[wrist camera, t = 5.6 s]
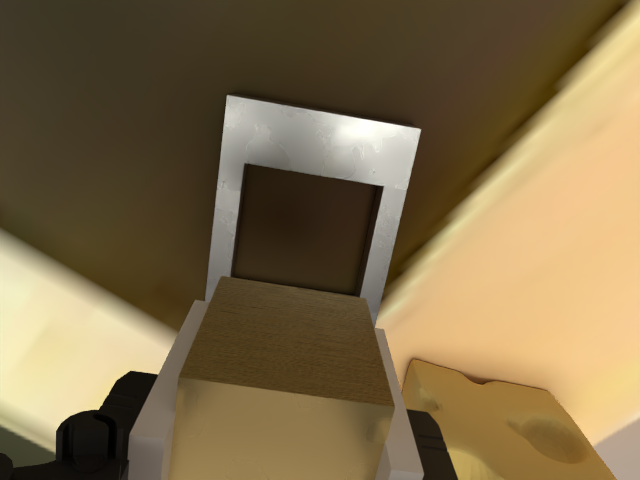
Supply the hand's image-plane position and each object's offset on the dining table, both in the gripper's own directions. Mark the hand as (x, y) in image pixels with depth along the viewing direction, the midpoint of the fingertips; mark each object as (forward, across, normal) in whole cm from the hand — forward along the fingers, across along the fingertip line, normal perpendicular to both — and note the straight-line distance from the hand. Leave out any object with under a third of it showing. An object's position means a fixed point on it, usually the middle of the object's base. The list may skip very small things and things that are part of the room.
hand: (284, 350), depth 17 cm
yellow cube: (0, 0, 0) cm, 1 cm away
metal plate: (+13, 0, -2) cm, 13 cm away
